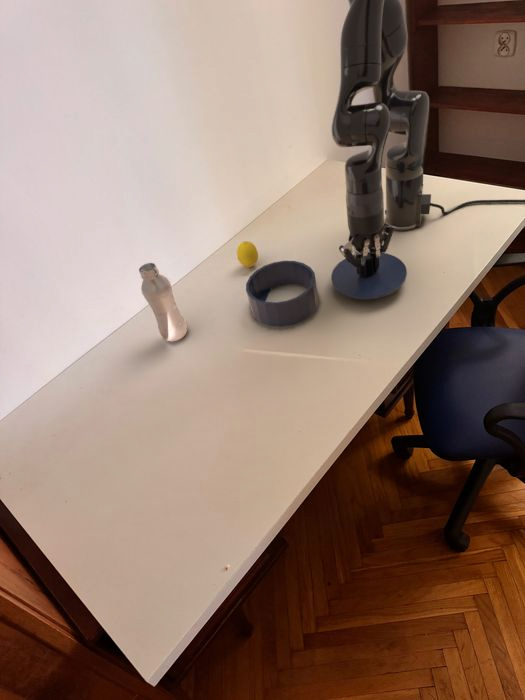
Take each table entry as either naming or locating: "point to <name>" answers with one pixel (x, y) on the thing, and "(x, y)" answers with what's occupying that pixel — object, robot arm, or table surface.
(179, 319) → the plastic bottle
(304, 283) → the pot
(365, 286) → the pot lid
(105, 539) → the table surface
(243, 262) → the lemon
